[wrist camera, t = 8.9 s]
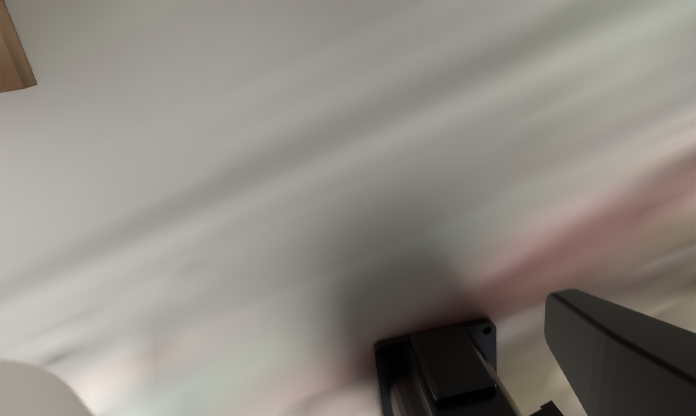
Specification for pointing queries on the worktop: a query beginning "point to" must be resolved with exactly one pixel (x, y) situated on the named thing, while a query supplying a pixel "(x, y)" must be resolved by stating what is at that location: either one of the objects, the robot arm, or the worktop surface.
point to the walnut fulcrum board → (12, 57)
